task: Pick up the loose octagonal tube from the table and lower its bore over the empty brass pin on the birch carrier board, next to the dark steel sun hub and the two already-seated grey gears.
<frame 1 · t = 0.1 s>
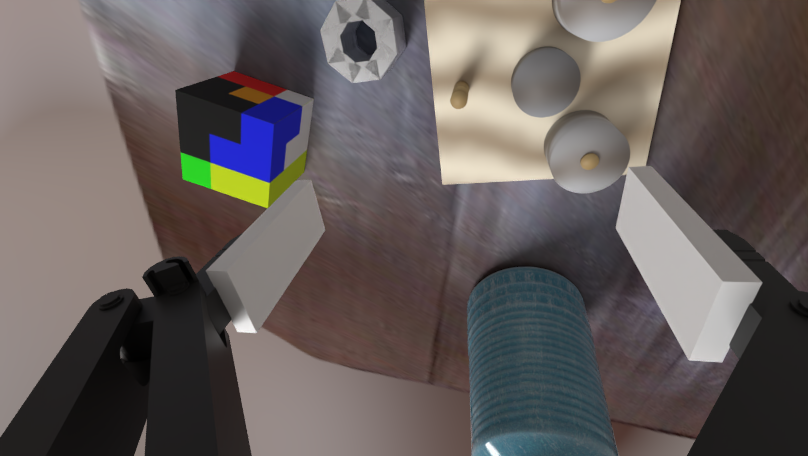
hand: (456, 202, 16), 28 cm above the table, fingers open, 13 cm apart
carrier: (540, 77, 37), on the table
octagonal tube: (372, 36, 38), on the table
puzzle toy: (272, 124, 46), on the table
vase: (522, 303, 54), on the table
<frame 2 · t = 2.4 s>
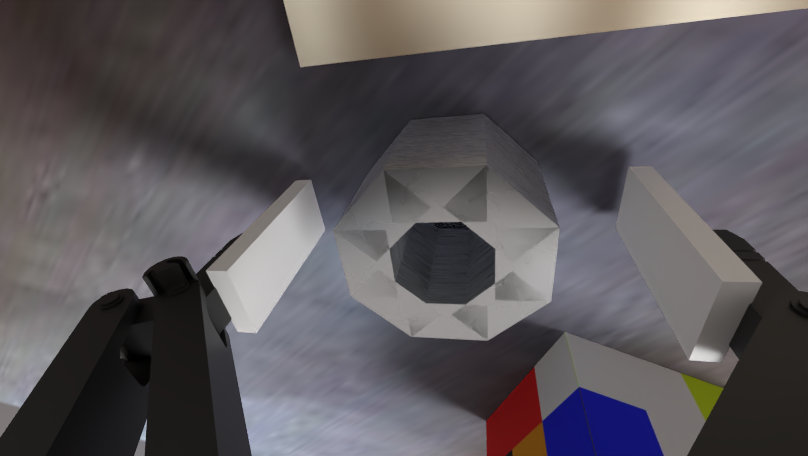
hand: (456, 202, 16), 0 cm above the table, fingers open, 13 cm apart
octagonal tube: (451, 195, 16), on the table
puzzle toy: (595, 404, 23), on the table
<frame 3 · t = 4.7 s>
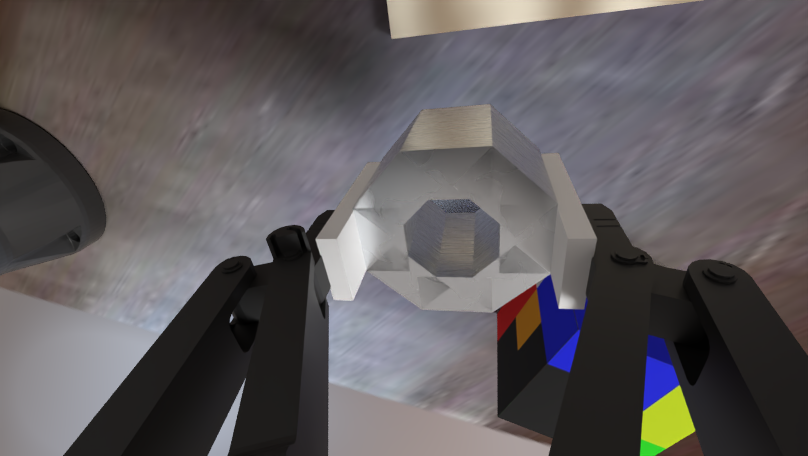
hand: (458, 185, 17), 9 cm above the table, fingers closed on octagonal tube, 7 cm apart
octagonal tube: (459, 181, 17), point 9 cm above the table, touching gripper
puzzle toy: (578, 295, 31), on the table
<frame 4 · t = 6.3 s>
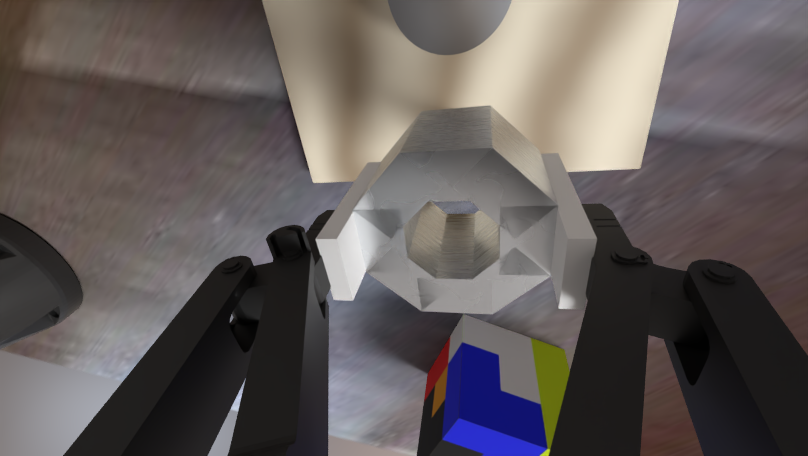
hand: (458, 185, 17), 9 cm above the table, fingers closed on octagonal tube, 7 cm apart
octagonal tube: (459, 183, 17), point 9 cm above the table, touching gripper
puzzle toy: (490, 360, 37), on the table
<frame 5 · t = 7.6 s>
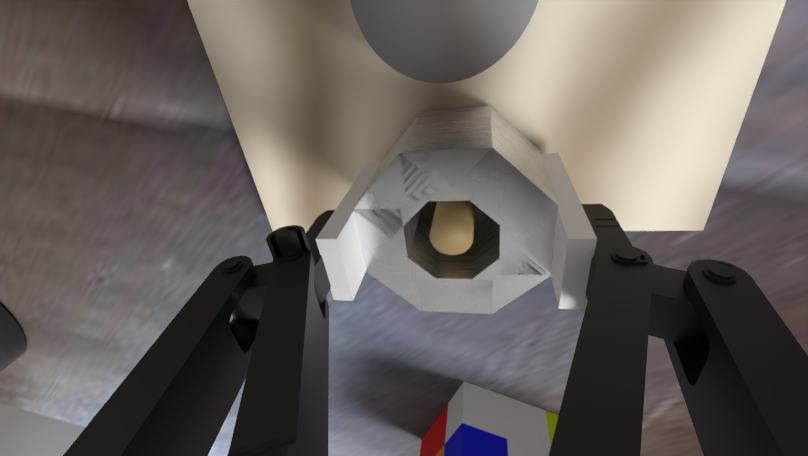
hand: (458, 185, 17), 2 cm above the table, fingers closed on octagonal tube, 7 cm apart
octagonal tube: (459, 182, 17), point 2 cm above the table, touching gripper
puzzle toy: (496, 429, 31), on the table
when the fingers open (2 cm above the table, at t = 8.0 s): octagonal tube stays where it is, resting on carrier.
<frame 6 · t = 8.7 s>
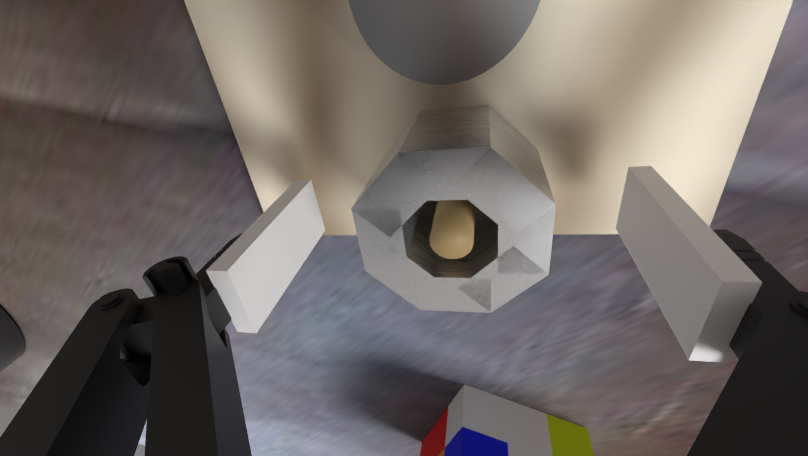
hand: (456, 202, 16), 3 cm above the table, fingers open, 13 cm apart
octagonal tube: (458, 182, 17), point 1 cm above the table, touching carrier
puzzle toy: (497, 432, 31), on the table
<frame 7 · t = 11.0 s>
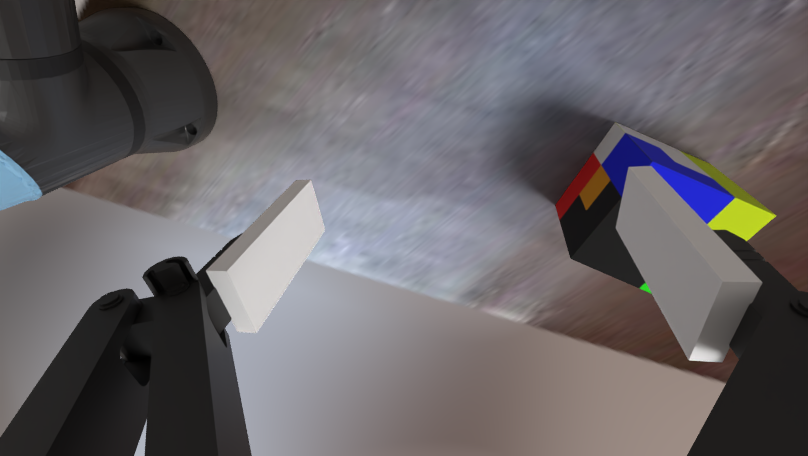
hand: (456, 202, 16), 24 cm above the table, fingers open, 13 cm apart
puzzle toy: (626, 184, 38), on the table
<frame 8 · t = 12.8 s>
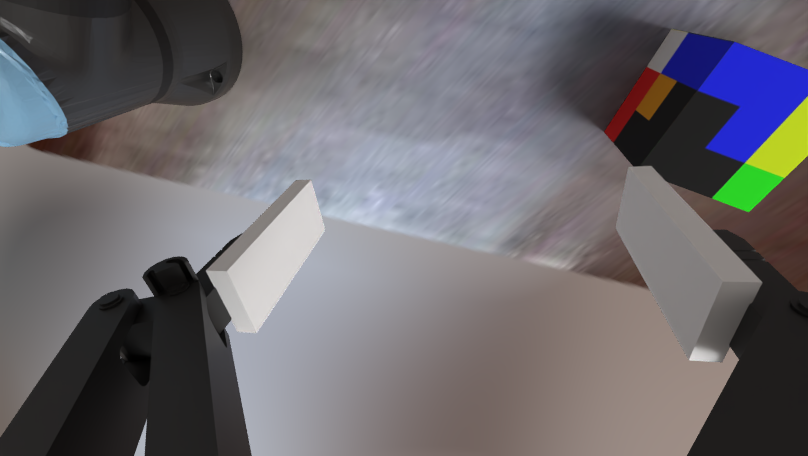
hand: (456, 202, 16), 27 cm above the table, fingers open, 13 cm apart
puzzle toy: (681, 101, 36), on the table
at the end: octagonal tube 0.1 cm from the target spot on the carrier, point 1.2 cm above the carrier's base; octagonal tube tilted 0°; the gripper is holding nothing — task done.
